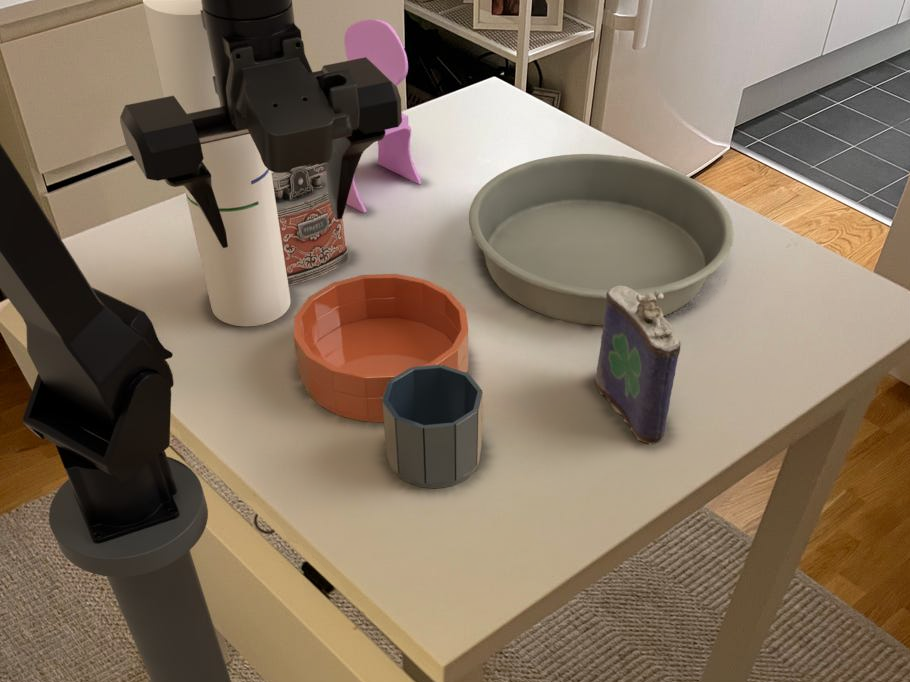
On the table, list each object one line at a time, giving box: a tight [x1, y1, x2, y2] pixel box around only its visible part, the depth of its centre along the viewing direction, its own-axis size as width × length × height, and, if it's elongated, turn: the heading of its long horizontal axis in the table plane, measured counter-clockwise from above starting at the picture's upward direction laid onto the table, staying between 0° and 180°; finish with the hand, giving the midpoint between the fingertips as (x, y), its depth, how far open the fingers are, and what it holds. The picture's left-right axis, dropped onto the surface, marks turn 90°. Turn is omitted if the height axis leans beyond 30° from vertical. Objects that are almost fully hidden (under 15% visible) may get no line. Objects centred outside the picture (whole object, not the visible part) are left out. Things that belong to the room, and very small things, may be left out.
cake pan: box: [468, 153, 735, 326], centre depth 94 cm, size 25×25×4 cm
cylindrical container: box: [142, 0, 291, 327], centre depth 81 cm, size 7×7×25 cm
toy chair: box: [321, 18, 422, 214], centre depth 97 cm, size 8×9×15 cm
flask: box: [594, 286, 681, 446], centre depth 78 cm, size 9×3×11 cm, turn 24°
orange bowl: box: [293, 273, 469, 423], centre depth 83 cm, size 14×14×4 cm
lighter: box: [271, 163, 350, 286], centre depth 90 cm, size 8×3×10 cm, turn 130°
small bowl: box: [382, 365, 484, 489], centre depth 76 cm, size 7×8×6 cm
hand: (281, 230), depth 76 cm, fingers open, 9 cm apart
